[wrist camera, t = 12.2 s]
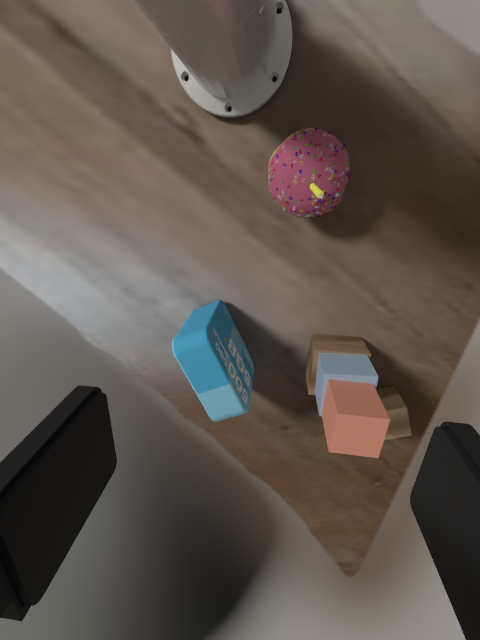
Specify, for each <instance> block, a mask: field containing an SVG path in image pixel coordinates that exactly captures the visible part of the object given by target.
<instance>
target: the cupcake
mask: <svg viewBox="0 0 480 640" xmlns="http://www.w3.org/2000/svg"><path fill="white" fill-rule="evenodd" d="M349 162H350V160H349V155H348V153H347V150H346V148H345V145H343V144H342V143H341V142H340V141H339V140H338V139H337V137H336V136H334V135H333V134H331V133H330V132H326V131H322V130H319V129H317V128H307V129H302V130H299V131H297V132H295V133H293V134H292V135H290V136H289V137H288V138H287V139H286V140H285V141H284V142H283V143H282V144H281V145H280V146H279V147H278V148H277V149H276V150H275V151H274V153H273V154H272V156H271V158H270V161H269V165H268V180H269V191H270V194H271V196H272V197H273V198H274V200H275V201H276V202H277V203H278V204H279V205H280V206H281V207H282V209H283V210H284V211H285V212H287V213H289V214H291V215H294V216H297V217H304V218H307V217H315V216H317V217H318V216H320V215H322V214H325V213H327V212H329V211H332V210H333V208H335V207H336V206H337V205H338V203H339V202H340V201H341V199H342V196H343V193H344V190H345V188H346V185H347V182H348V179H349V177H350V168H349Z"/></svg>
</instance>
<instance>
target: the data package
mask: <svg viewBox="0 0 480 640" xmlns="http://www.w3.org/2000/svg"><path fill="white" fill-rule="evenodd" d="M172 349H173V353H174V356H175V358H176V360H177V361H178V363H179V365H180V366H181V368H182V370H183V372H184V373H185V375H186V377H187V379H188V380H189V382H190V384H191V386H192V387H193V389H194V391H195V393H196V394H197V396H198V398H199V399H200V401H201V403H202V405H203V406H204V408H205V410H206V412H207V413H208V415H209V417H210V418H211V420H213V421H214V422H217V421H221V420H224V419H228V418H231V417H235V416H238V415H242V414H245V413H248V411H249V408H250V400H251V392H252V384H253V376H254V364H253V361H252V358H251V356H250V354H249V352H248V350H247V348H246V346H245V344H244V341H243V339H242V337H241V335H240V333H239V331H238V329H237V327H236V325H235V323H234V321H233V319H232V317H231V315H230V312H229V310H228V308H227V306H226V305H225V303H224V302H223V301H222V300H219V301H216V302H214V303H211V304H208V305H206V306H203V307H201V308H198V309H196V310H194V311H192V313H191V314H190V316H189V317H188V319H187V320H186V322H185V323H184V325H183V326H182V328H181V329H180V331H179V332H178V333H177V335H176V336H175V338H174V339H173V342H172Z"/></svg>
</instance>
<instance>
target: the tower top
mask: <svg viewBox="0 0 480 640" xmlns="http://www.w3.org/2000/svg"><path fill="white" fill-rule="evenodd" d="M328 379H333V380H342V381H351V382H361V383H370V384H373V385H374V387H375V389H376V387H377V382H378V375H377V373H376V371H375V369H374V367H373V365H372V363H371V362H370V360H369V358H368V356H367V355H362V354H338V353H319V354H318V365H317V375H316V385H315V395H316V400H317V406H318V411H319V416H322V414H321V413H322V408H323V403H324V398H325V393H326V388H327V383H328Z"/></svg>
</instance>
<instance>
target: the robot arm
mask: <svg viewBox="0 0 480 640" xmlns="http://www.w3.org/2000/svg"><path fill="white" fill-rule="evenodd" d="M134 1H135V2H136V4H137V5H138V6H139V8H140V9H141V10H142V11H143V13H144V14H145V15H146V17H147V18H148V19H149V20H150V22H151V23H152V24H153V26H154V27H155V28H156V29H157V31H158V32H159V33H160V35H161V36H162V37H163V39H164V40H165V41H166V42H167V44H168V45H169V46H170V49H171V57H172V62H173V65H174V69H175V73H176V75H177V77H178V79H179V82H180V84H181V85H182V87H183V88H184V90H185V92H186V93H187V95H188V96H189V97H190V98H191V99H192V100H193V101H194V102H195V103H196V104H197V105H198V106H199V107H201V108H202V109H204V110H205V111H207V112H209V113H211V114H213V115H216V116H219V117H225V118H236V117H243V116H246V115H248V114H251V113H253V112H255V111H256V110H258V109H259V108H261V107H263V106H264V105H265V104H266V103H267V102H268V101H269V100H270V99H271V98H272V97H273V95H274V94H275V93H276V91H277V90H278V88H279V87H280V85H281V83H282V81H283V79H284V77H285V75H286V71H287V68H288V65H289V62H290V56H291V50H292V24H291V18H290V14H289V9H288V6H287V3H286V1H285V0H134ZM278 10H281V11H282V12H281V13H280V14H277V11H278ZM187 76H188V77H189V79H188V81H185V78H186V77H187ZM274 77H276V78H277V81H276V82H273V81H272V79H273V78H274ZM229 107H231V108H232V111H231V112H228V108H229ZM116 463H117V458H116V453H115V447H114V440H113V434H112V427H111V421H110V415H109V409H108V403H107V397H106V394H105V393H102V391H101V389H100V388H98V387H89V386H77V387H76V388H75V389H74V390H73V391H72V392H71V393H70V394H69V395H68V396H67V397H66V398H65V399H64V400H63V401H62V402H61V403H60V404H59V405H58V406H57V407H56V408H55V409H54V410H53V411H52V412H51V413H50V414H49V415H48V416H47V417H46V418H45V419H44V420H43V421H42V422H41V423H40V424H39V425H38V426H37V427H36V428H35V429H34V430H33V431H32V432H31V433H30V434H29V435H28V436H27V437H26V438H25V439H24V440H23V441H22V442H21V443H20V444H19V445H18V446H17V447H16V448H15V449H14V450H13V451H12V452H10V453H9V454H8V455H7V456H6V457H5V459H3V461H1V462H0V618H7V619H13V620H18V621H22V620H23V619H24V617H25V615H26V613H27V612H28V610H29V608H30V607H31V605H36V604H37V603H38V602H39V601H40V600H41V598H42V596H43V595H44V593H45V592H46V590H47V588H48V586H49V584H50V583H51V581H52V579H53V578H54V576H55V574H56V572H57V571H58V569H59V567H60V565H61V564H62V562H63V560H64V558H65V557H66V555H67V553H68V551H69V550H70V548H71V546H72V544H73V543H74V541H75V539H76V537H77V536H78V534H79V532H80V530H81V529H82V527H83V525H84V523H85V522H86V520H87V518H88V517H89V515H90V513H91V511H92V510H93V508H94V506H95V504H96V503H97V501H98V499H99V497H100V496H101V494H102V492H103V490H104V489H105V487H106V485H107V483H108V481H109V480H110V478H111V476H112V474H113V473H114V471H115V467H116ZM410 503H411V508H412V511H413V513H414V515H415V518H416V520H417V523H418V525H419V527H420V530H421V532H422V535H423V537H424V539H425V542H426V544H427V547H428V549H429V551H430V554H431V556H432V559H433V561H434V563H435V566H436V568H437V571H438V573H439V576H440V578H441V580H442V583H443V585H444V588H445V590H446V592H447V595H448V597H449V599H450V602H451V604H452V607H453V609H454V612H455V614H456V616H457V619H458V621H459V624H460V626H461V628H462V631H463V633H464V636H465V638H466V640H480V435H479V434H478V433H477V432H476V430H475V429H474V428H473V427H472V426H471V425H469V424H463V423H454V422H443V423H442V424H441V426H440V427H436V428H435V429H434V431H433V434H432V437H431V439H430V442H429V445H428V448H427V451H426V453H425V456H424V459H423V462H422V464H421V467H420V470H419V473H418V475H417V479H416V481H415V484H414V487H413V490H412V492H411V496H410Z"/></svg>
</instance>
